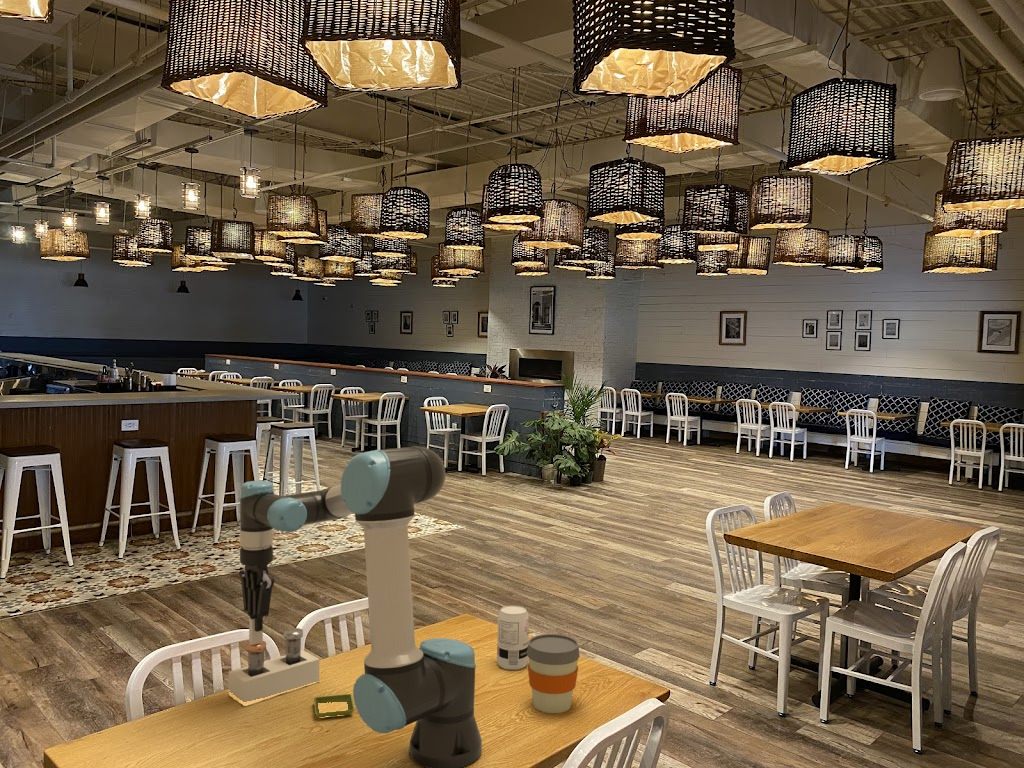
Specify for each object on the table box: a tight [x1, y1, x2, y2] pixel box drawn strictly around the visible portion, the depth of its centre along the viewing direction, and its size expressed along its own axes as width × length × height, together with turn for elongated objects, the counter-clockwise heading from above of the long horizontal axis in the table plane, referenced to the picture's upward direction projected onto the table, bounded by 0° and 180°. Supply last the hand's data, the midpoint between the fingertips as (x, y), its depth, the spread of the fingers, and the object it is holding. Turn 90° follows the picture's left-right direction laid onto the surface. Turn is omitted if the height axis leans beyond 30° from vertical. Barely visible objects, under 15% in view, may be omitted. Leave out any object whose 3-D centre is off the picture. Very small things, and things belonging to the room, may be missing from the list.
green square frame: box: [313, 693, 355, 718], centre depth 185 cm, size 9×9×2 cm
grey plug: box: [283, 627, 304, 665], centre depth 199 cm, size 5×5×8 cm
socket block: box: [227, 649, 320, 702], centre depth 196 cm, size 20×8×6 cm, turn 135°
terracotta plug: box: [245, 640, 267, 677], centre depth 192 cm, size 5×5×8 cm
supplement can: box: [496, 605, 530, 671], centre depth 213 cm, size 8×8×15 cm
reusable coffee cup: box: [527, 633, 580, 714], centre depth 190 cm, size 13×13×15 cm
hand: (255, 642), depth 192 cm, fingers closed
